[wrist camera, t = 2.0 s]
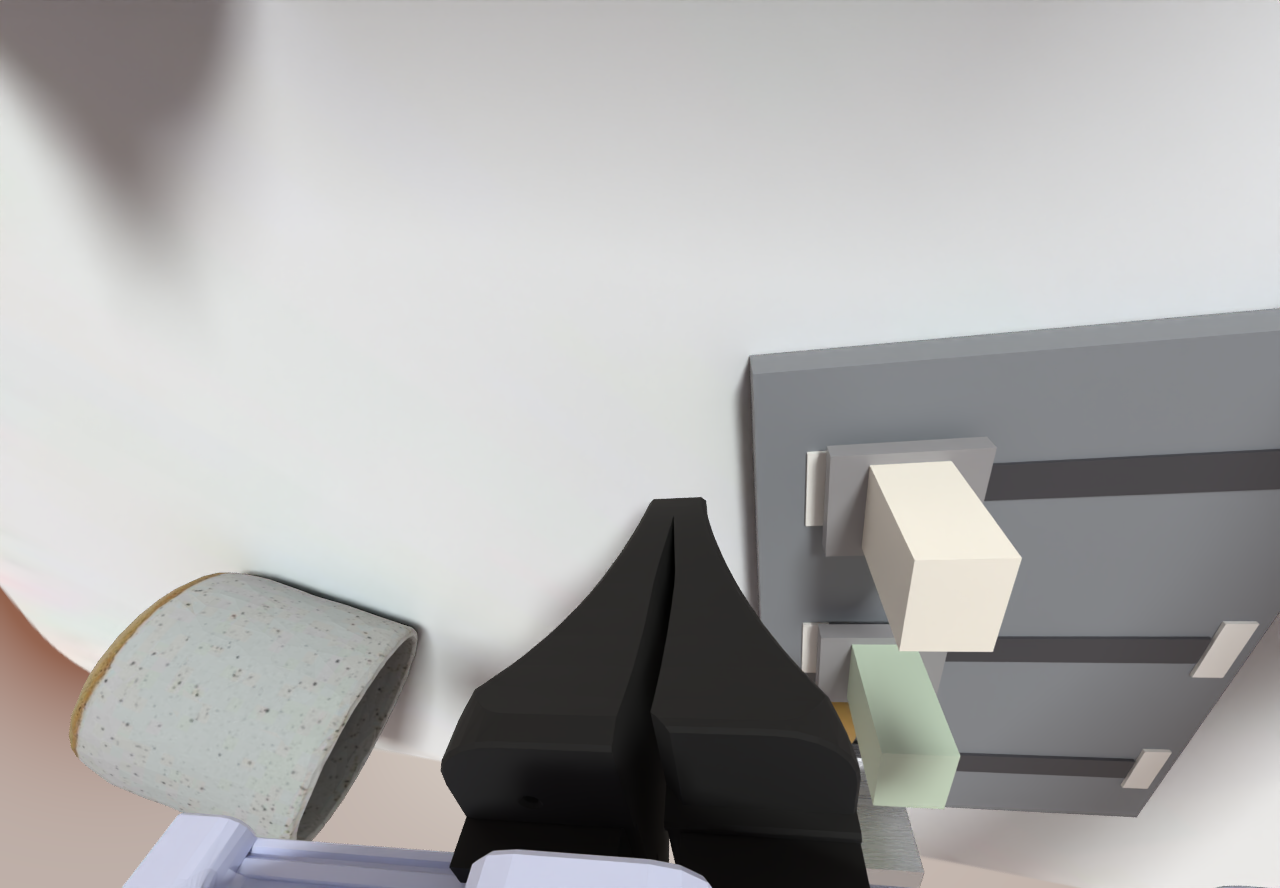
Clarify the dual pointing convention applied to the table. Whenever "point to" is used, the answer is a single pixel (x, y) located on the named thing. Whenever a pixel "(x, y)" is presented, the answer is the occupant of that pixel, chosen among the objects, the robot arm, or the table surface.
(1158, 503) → the panel
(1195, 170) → the table surface
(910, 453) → the paddle cream
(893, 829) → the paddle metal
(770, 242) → the table surface
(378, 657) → the ceramic mug
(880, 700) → the pale mint cube
